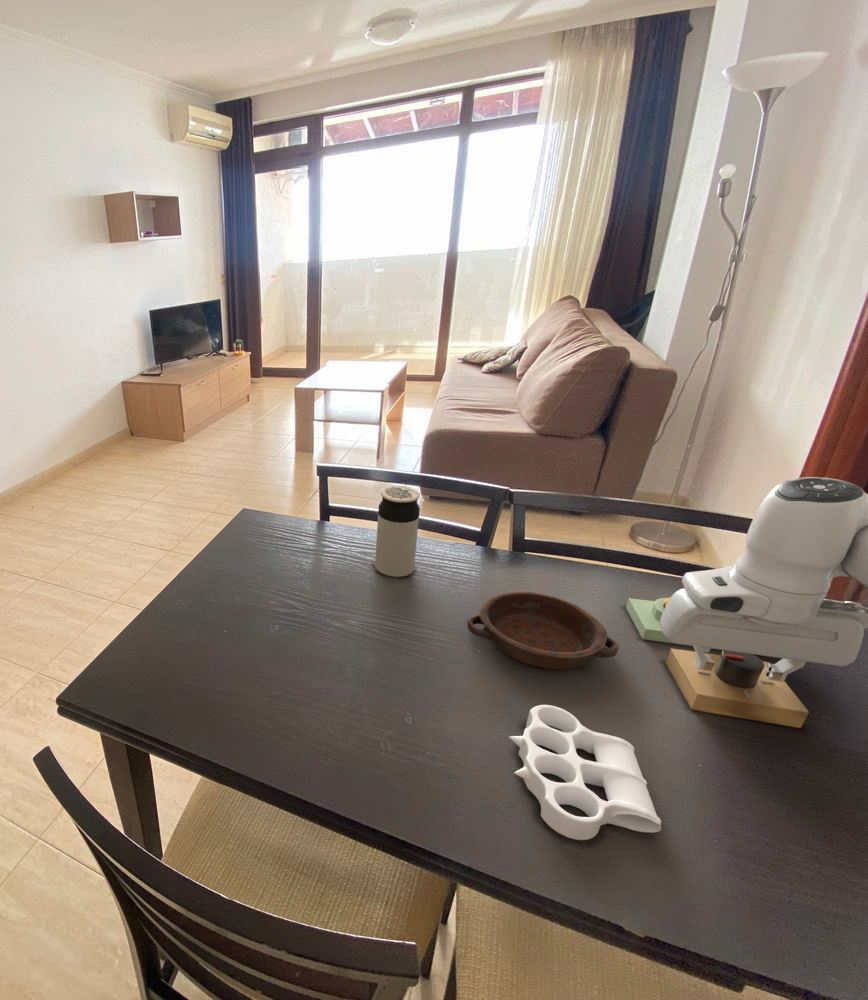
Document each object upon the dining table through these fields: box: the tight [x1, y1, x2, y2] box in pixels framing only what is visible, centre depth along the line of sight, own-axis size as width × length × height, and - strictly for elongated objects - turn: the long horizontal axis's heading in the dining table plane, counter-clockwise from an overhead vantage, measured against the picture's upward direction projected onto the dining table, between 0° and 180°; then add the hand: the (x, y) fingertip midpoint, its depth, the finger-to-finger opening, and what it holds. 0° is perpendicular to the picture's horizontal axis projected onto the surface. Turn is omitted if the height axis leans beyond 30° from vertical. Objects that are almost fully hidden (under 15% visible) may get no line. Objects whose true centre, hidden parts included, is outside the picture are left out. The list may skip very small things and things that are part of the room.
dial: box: [715, 650, 764, 688], centre depth 78 cm, size 4×4×4 cm
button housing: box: [625, 597, 720, 651], centre depth 92 cm, size 11×9×4 cm
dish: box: [466, 590, 620, 670], centre depth 91 cm, size 18×22×5 cm
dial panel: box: [665, 648, 810, 729], centre depth 79 cm, size 12×10×3 cm
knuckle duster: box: [508, 704, 662, 841], centre depth 69 cm, size 3×18×15 cm
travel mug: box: [374, 485, 421, 578], centre depth 113 cm, size 8×8×18 cm
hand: (736, 672), depth 78 cm, fingers open, 7 cm apart
